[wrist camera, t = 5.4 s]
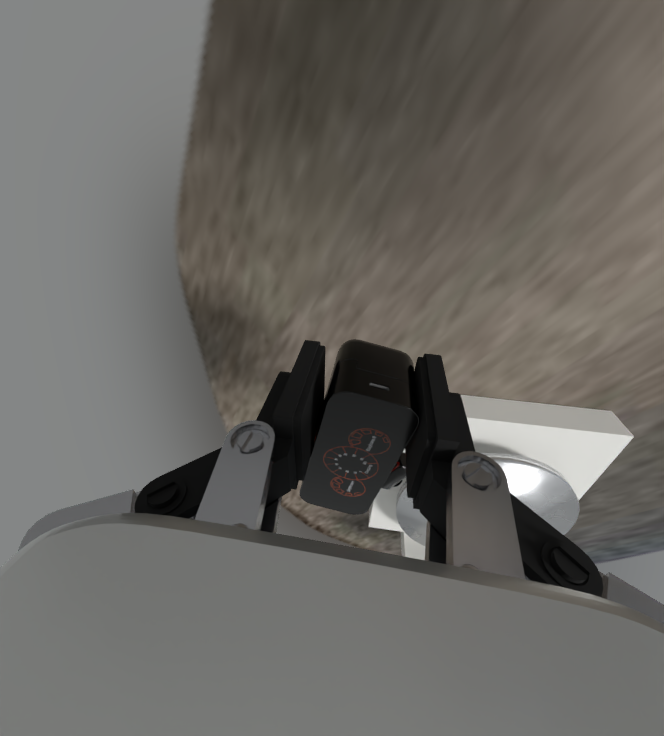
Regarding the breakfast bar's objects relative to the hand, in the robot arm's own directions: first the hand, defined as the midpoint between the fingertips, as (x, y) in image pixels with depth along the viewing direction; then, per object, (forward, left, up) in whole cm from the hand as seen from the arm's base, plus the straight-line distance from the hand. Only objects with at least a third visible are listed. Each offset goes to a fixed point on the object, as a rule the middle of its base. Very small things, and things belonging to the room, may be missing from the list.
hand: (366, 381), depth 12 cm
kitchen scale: (+17, +10, -10) cm, 22 cm away
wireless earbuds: (+2, 0, -1) cm, 3 cm away
